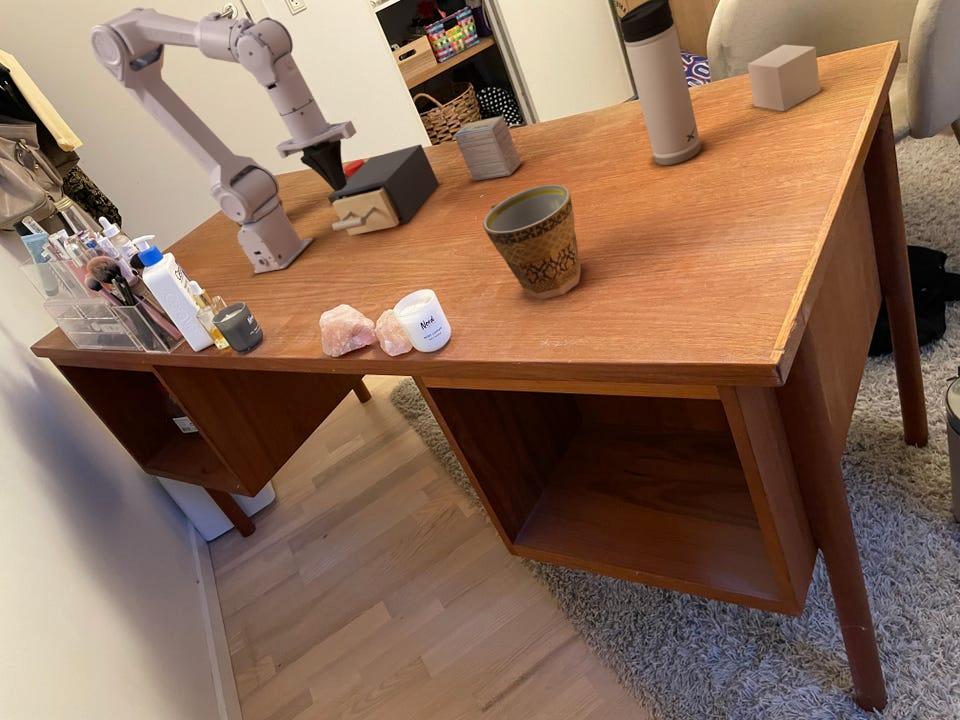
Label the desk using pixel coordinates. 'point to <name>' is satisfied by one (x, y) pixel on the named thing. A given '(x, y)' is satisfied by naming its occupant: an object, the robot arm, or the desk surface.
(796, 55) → the pinkish grey cube
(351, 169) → the button
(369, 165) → the cabinet
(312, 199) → the desk surface
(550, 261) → the ceramic cup
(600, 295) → the desk surface
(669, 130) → the travel mug
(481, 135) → the paper stack
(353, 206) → the drawer
